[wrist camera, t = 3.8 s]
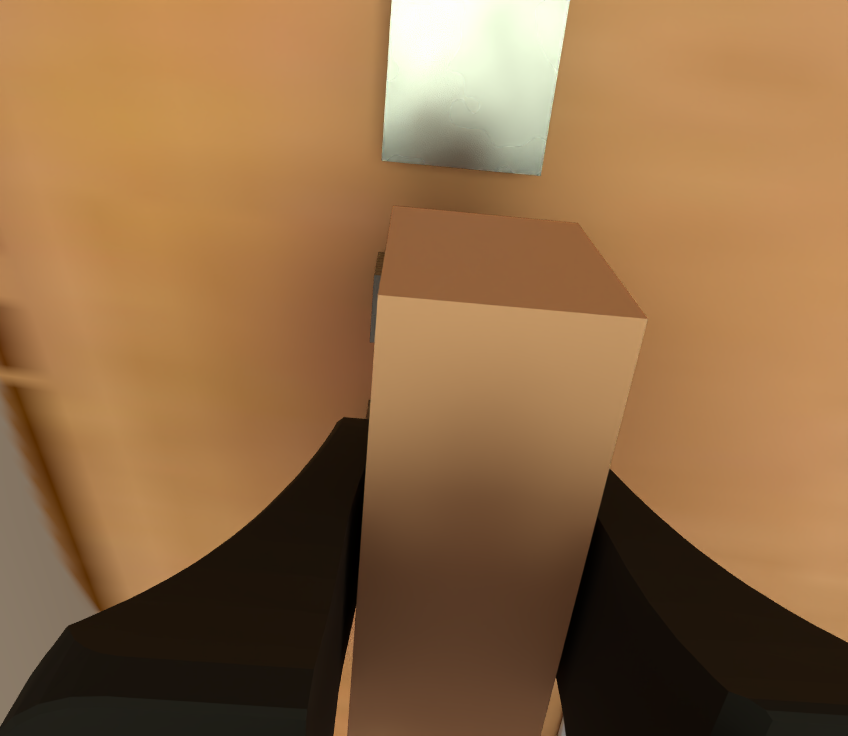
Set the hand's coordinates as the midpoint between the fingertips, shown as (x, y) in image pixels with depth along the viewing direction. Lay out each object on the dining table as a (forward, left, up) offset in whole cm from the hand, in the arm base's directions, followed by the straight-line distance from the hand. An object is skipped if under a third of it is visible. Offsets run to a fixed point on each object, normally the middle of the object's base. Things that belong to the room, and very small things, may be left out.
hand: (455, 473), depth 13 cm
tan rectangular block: (+1, 0, -3) cm, 3 cm away
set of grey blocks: (0, 0, -9) cm, 9 cm away
